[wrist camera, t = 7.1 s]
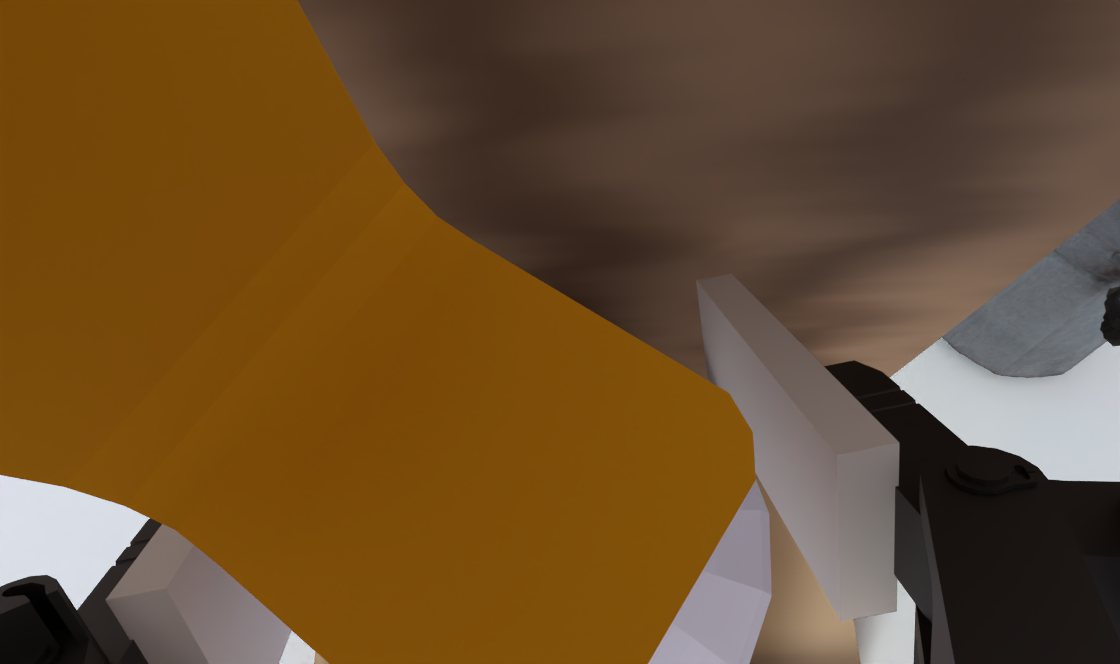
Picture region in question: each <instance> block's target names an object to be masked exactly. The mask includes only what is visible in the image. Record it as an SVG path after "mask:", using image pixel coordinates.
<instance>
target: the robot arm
mask: <svg viewBox="0 0 1120 664" xmlns="http://www.w3.org/2000/svg"><path fill="white" fill-rule="evenodd" d="M696 283H697V291H698V300H699V309H700V317H701V326H702V335H703V344H704V352H705V361H706V370H707V378H708V381H710V382H711V383H713V384H715V385H716V386H718V387H720V388H721V389H723V390H725V391H726V392H728V393H729V394H730V395H731V397H732V399H733V400H734V402H735V403H736V405H737V407H738V408H739V410H740V412H741V413H742V415H743V417H744V418H745V420H746V422H747V423H748V425H749V427H750V428H751V430H752V432H753V441H754V458H755V473H756V475H757V476H758V478H759V480H760V482H761V483H762V485H763V487H764V489H765V490H766V492H767V494H768V496H769V497H770V499H771V501H772V503H773V504H774V506H775V508H776V509H777V511H778V513H779V515H780V516H781V518H782V520H783V522H784V523H785V525H786V527H787V529H788V530H789V532H790V534H791V536H792V537H793V539H794V541H795V542H796V544H797V546H798V548H799V549H800V551H801V553H802V555H803V556H804V558H805V560H806V562H807V563H808V565H809V567H810V569H811V570H812V572H813V574H814V575H815V577H816V579H817V581H818V582H819V584H820V586H821V588H822V589H823V591H824V593H825V595H826V596H827V598H828V600H829V602H830V603H831V605H832V607H833V608H834V610H835V612H836V614H837V615H838V617H839V619H840V621H841V622H843V621H848V620H853V619H858V618H863V617H869V616H874V615H879V614H884V613H889V612H894V611H897V579H898V580H899V581H900V583H901V584H902V586H903V587H904V588H905V590H906V591H907V592H908V594H909V595H910V597H911V598H912V599H913V601H914V602H915V603H916V612H915V643H914V664H1120V482H1099V481H1060V480H1048V479H1047V478H1046V476H1045V475H1044V474H1043V473H1042V472H1041V470H1040V469H1039V468H1038V467H1036V466H1035V465H1033V464H1031V463H1030V462H1028V461H1027V460H1025V459H1023V458H1022V457H1020V456H1017V455H1014V454H1011V453H1008V452H1005V451H1002V450H999V449H995V448H987V447H980V446H968V445H967V444H965V443H964V442H963V441H962V440H961V439H960V438H958V437H957V436H956V435H955V434H954V433H953V432H952V431H950V430H949V429H948V428H947V427H946V426H945V425H943V424H942V423H941V422H940V421H939V420H938V419H936V418H935V417H934V416H933V415H932V414H931V413H929V412H928V411H927V410H926V409H925V408H924V407H923V406H921V405H920V404H916V402H915V400H914V399H913V398H912V397H911V396H910V395H909V394H907V393H906V392H905V391H904V390H902V391H901V390H900V387H899V386H898V385H897V384H896V383H895V382H894V381H892V380H891V379H890V378H889V377H888V376H887V375H885V374H884V373H883V372H882V371H880V370H877V369H875V368H872V367H870V366H867V365H865V364H862V363H860V362H857V361H855V360H853V361H848V362H843V363H838V364H833V365H828V366H823V365H822V364H821V363H820V362H819V361H818V360H817V359H816V358H815V357H814V356H813V355H812V354H811V353H810V352H809V351H808V350H807V349H806V348H805V347H804V346H803V345H802V344H801V343H800V342H799V341H798V340H797V339H796V338H795V337H794V336H793V335H792V334H791V333H790V332H789V331H788V330H787V329H786V328H785V327H784V326H783V325H782V324H781V323H780V322H779V321H778V320H777V319H776V318H775V317H774V316H773V315H772V314H771V313H770V312H769V311H768V310H767V309H766V308H765V307H764V306H763V305H762V304H761V303H760V302H759V301H758V300H757V299H756V298H755V296H754V295H753V294H752V293H751V292H750V291H749V290H748V289H747V288H746V287H745V286H744V285H743V284H742V283H741V282H740V281H739V280H738V279H737V278H736V277H735V276H734V275H733V274H732V273H731V274H727V275H722V276H717V277H712V278H707V279H702V280H697V281H696ZM130 544H131V546H130V547H127V548H126V549H125V550H124V551H123V553H122V554H121V555H120V556H119V558H118V559H117V560H116V566H112V567H111V568H110V569H109V570H108V572H107V573H106V574H105V576H104V577H103V578H102V579H101V581H100V582H99V583H98V584H97V586H96V587H95V588H94V590H93V591H92V592H91V593H90V595H89V596H88V597H87V598H86V600H85V601H84V602H83V604H82V605H81V606H80V607H79V609H78V610H76V609H75V607H74V606H73V604H72V603H71V601H70V599H69V598H68V596H67V595H66V593H65V592H64V590H63V589H62V587H61V586H60V584H59V583H58V581H57V580H56V579H54V578H52V577H50V576H48V575H41V576H30V577H26V578H23V579H20V580H17V581H14V582H11V583H8V584H6V585H3V586H1V587H0V664H279V661H280V659H281V656H282V653H283V651H284V648H285V646H286V643H287V640H288V638H289V635H290V633H291V629H290V628H289V627H288V626H286V625H285V624H284V623H283V622H282V621H281V620H280V619H279V618H277V617H276V616H275V615H274V614H273V613H272V612H271V611H270V610H269V609H267V608H266V607H265V606H264V605H263V604H262V603H261V602H260V601H258V600H257V599H256V598H255V597H254V596H253V595H252V594H251V593H249V592H248V591H247V590H246V589H245V588H244V587H243V586H242V585H240V584H239V583H238V582H237V581H236V580H235V579H234V578H233V577H231V576H230V575H229V574H228V573H227V572H226V571H225V570H224V569H222V568H221V567H220V566H219V565H218V564H217V563H216V562H214V561H213V560H212V559H211V558H209V557H208V556H207V555H206V554H204V553H203V552H202V551H201V550H199V549H198V548H197V547H196V546H194V545H193V544H192V543H191V542H189V541H188V540H187V539H186V538H184V537H183V536H182V535H181V534H179V533H178V532H177V531H176V530H174V529H172V528H170V527H168V526H166V525H164V524H162V523H159V522H157V521H155V520H153V519H151V518H150V519H149V520H148V521H147V522H146V523H145V525H144V526H143V527H142V528H141V530H140V531H139V532H138V534H137V535H136V536H135V537H134V539H133V540H132V541H131V542H130Z"/></svg>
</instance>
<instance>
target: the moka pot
mask: <svg viewBox="0 0 1120 664" xmlns="http://www.w3.org/2000/svg"><path fill="white" fill-rule="evenodd" d="M942 337H943V338H944V339H945V340H946V341H947V342H948V343H949V344H950V345H951V346H952V347H953V348H954V349H955V350H956V351H958V352H959V353H961V354H963V355H964V356H966V357H968V358H969V359H971V360H972V361H974V362H975V363H977V364H979V365H981V366H983V367H984V368H986V369H988V370H990V371H991V372H993V373H994V374H997V375H1001V376H1011V377H1026V378H1029V377H1045V376H1054V375H1061V374H1064V373H1065V372H1067V371H1068V370H1070V369H1071V368H1072V367H1074V366H1075V365H1076V364H1078V363H1079V362H1080V361H1081V360H1083V359H1084V358H1085V357H1087V356H1088V355H1089V354H1091V353H1092V352H1093V351H1095V350H1096V349H1097V348H1099V347H1100V346H1101V345H1103V344H1104V343H1105V342H1107V341H1108V342H1109V343H1110V344H1112V345H1113V346H1120V199H1119V200H1118V201H1117V202H1115V203H1114V204H1113V205H1112V206H1110V207H1109V208H1108V209H1106V210H1105V211H1104V212H1102V213H1101V214H1100V215H1099V216H1097V217H1096V218H1095V219H1093V220H1092V221H1091V222H1090V223H1088V224H1087V225H1086V226H1084V227H1083V228H1082V229H1081V230H1079V231H1078V232H1077V233H1075V234H1074V235H1073V236H1071V237H1070V238H1069V239H1068V240H1066V241H1065V242H1064V243H1062V244H1061V245H1060V246H1059V247H1057V248H1056V249H1055V250H1053V251H1052V252H1051V253H1050V254H1048V255H1047V256H1046V257H1044V258H1043V259H1042V260H1040V261H1039V262H1038V263H1037V264H1035V265H1034V266H1033V267H1031V268H1030V269H1029V270H1028V271H1026V272H1025V273H1024V274H1022V275H1021V276H1020V277H1019V278H1017V279H1016V280H1015V281H1013V282H1012V283H1011V284H1009V285H1008V286H1007V287H1006V288H1004V289H1003V290H1002V291H1000V292H999V293H998V294H997V295H995V296H994V297H993V298H991V299H990V300H989V301H988V302H986V303H985V304H984V305H982V306H981V307H980V308H979V309H977V310H976V311H975V312H973V313H972V314H971V315H969V316H968V317H967V318H966V319H964V320H963V321H962V322H960V323H959V324H958V325H957V326H955V327H954V328H953V329H951V330H950V331H949V332H948V333H946V334H945V335H944V336H942Z"/></svg>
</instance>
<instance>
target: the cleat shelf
mask: <svg viewBox="0 0 1120 664" xmlns="http://www.w3.org/2000/svg"><path fill="white" fill-rule="evenodd" d="M298 2H299V4H300V6H301V8H302V9H303V11H304V13H305V15H306V17H307V19H308V20H309V22H310V24H311V26H312V28H313V30H314V31H315V33H316V35H317V37H318V39H319V41H320V42H321V44H322V46H323V48H324V50H325V52H326V53H327V55H328V57H329V59H330V61H331V63H332V64H333V66H334V68H335V70H336V72H337V74H338V75H339V77H340V79H341V81H342V83H343V85H344V86H345V88H346V90H347V92H348V94H349V95H350V97H351V99H352V101H353V103H354V105H355V106H356V108H357V110H358V112H359V114H360V116H361V117H362V119H363V121H364V123H365V125H366V127H367V128H368V130H369V132H370V134H371V136H372V138H373V139H374V141H375V143H376V144H377V146H378V147H379V148H380V150H381V151H382V153H383V154H384V155H385V157H386V158H387V159H388V161H389V162H390V164H391V165H392V166H393V168H394V169H395V170H396V172H397V173H398V175H399V176H400V177H401V179H402V180H403V181H404V183H405V184H406V185H407V186H408V187H409V188H410V189H411V190H412V191H413V192H414V193H415V194H416V195H417V196H418V197H419V198H420V199H421V200H422V201H423V202H424V203H425V204H426V205H427V206H428V207H429V208H430V209H431V210H432V211H433V213H434V214H435V215H436V216H437V217H439V218H440V219H442V220H443V221H445V222H447V223H448V224H450V225H451V226H453V227H454V228H456V229H457V230H459V231H460V232H462V233H463V234H465V235H466V236H468V237H469V238H471V239H472V240H474V241H475V242H477V243H479V244H480V245H482V246H484V247H485V248H487V249H489V250H490V251H492V252H494V253H495V254H497V255H499V256H500V257H502V258H504V259H505V260H507V261H509V262H510V263H512V264H514V265H515V266H517V267H519V268H520V269H522V270H524V271H525V272H527V273H529V274H531V275H532V276H534V277H536V278H537V279H539V280H541V281H542V282H544V283H546V284H547V285H549V286H551V287H552V288H554V289H556V290H557V291H559V292H561V293H562V294H564V295H566V296H567V297H569V298H571V299H572V300H574V301H576V302H577V303H579V304H581V305H582V306H584V307H586V308H587V309H589V310H591V311H592V312H594V313H596V314H598V315H599V316H601V317H603V318H604V319H606V320H608V321H609V322H611V323H613V324H614V325H616V326H618V327H619V328H621V329H623V330H624V331H626V332H628V333H629V334H631V335H633V336H634V337H636V338H638V339H639V340H641V341H643V342H644V343H646V344H648V345H649V346H651V347H653V348H654V349H656V350H658V351H659V352H661V353H663V354H664V355H666V356H668V357H670V358H671V359H673V360H675V361H676V362H678V363H680V364H681V365H683V366H685V367H686V368H688V369H690V370H691V371H693V372H695V373H696V374H698V375H700V376H701V377H703V378H705V379H706V380H708V378H707V370H706V361H705V352H704V344H703V335H702V326H701V317H700V309H699V300H698V291H697V283H696V281H697V280H702V279H707V278H712V277H717V276H722V275H727V274H731V273H732V274H733V275H734V276H735V277H736V278H737V279H738V280H739V281H740V282H741V283H742V284H743V285H744V286H745V287H746V288H747V289H748V290H749V291H750V292H751V293H752V294H753V295H754V296H755V298H756V299H757V300H758V301H759V302H760V303H761V304H762V305H763V306H764V307H765V308H766V309H767V310H768V311H769V312H770V313H771V314H772V315H773V316H774V317H775V318H776V319H777V320H778V321H779V322H780V323H781V324H782V325H783V326H784V327H785V328H786V329H787V330H788V331H789V332H790V333H791V334H792V335H793V336H794V337H795V338H796V339H797V340H798V341H799V342H800V343H801V344H802V345H803V346H804V347H805V348H806V349H807V350H808V351H809V352H810V353H811V354H812V355H813V356H814V357H815V358H816V359H817V360H818V361H819V362H820V363H821V364H822V365H823V366H828V365H833V364H838V363H843V362H848V361H853V360H855V361H857V362H860V363H862V364H865V365H867V366H870V367H872V368H875V369H877V370H880V371H882V372H883V373H884V374H885V375H887V376H888V377H891V376H892V375H893V374H895V373H896V372H897V371H898V370H900V369H901V368H902V367H904V366H905V365H906V364H907V363H909V362H910V361H911V360H913V359H914V358H915V357H917V356H918V355H919V354H920V353H922V352H923V351H924V350H926V349H927V348H928V347H929V346H931V345H932V344H933V343H935V342H936V341H937V340H938V339H940V338H941V337H942V336H944V335H945V334H946V333H948V332H949V331H950V330H951V329H953V328H954V327H955V326H957V325H958V324H959V323H960V322H962V321H963V320H964V319H966V318H967V317H968V316H969V315H971V314H972V313H973V312H975V311H976V310H977V309H979V308H980V307H981V306H982V305H984V304H985V303H986V302H988V301H989V300H990V299H991V298H993V297H994V296H995V295H997V294H998V293H999V292H1000V291H1002V290H1003V289H1004V288H1006V287H1007V286H1008V285H1009V284H1011V283H1012V282H1013V281H1015V280H1016V279H1017V278H1019V277H1020V276H1021V275H1022V274H1024V273H1025V272H1026V271H1028V270H1029V269H1030V268H1031V267H1033V266H1034V265H1035V264H1037V263H1038V262H1039V261H1040V260H1042V259H1043V258H1044V257H1046V256H1047V255H1048V254H1050V253H1051V252H1052V251H1053V250H1055V249H1056V248H1057V247H1059V246H1060V245H1061V244H1062V243H1064V242H1065V241H1066V240H1068V239H1069V238H1070V237H1071V236H1073V235H1074V234H1075V233H1077V232H1078V231H1079V230H1081V229H1082V228H1083V227H1084V226H1086V225H1087V224H1088V223H1090V222H1091V221H1092V220H1093V219H1095V218H1096V217H1097V216H1099V215H1100V214H1101V213H1102V212H1104V211H1105V210H1106V209H1108V208H1109V207H1110V206H1112V205H1113V204H1114V203H1115V202H1117V201H1118V200H1119V199H1120V0H298ZM755 475H756V473H755ZM756 481H757V483H758V486H759V488H760V491H761V494H762V496H763V499H764V501H765V504H766V507H767V509H768V512H769V523H770V556H771V589H772V596H771V599H770V603H769V606H768V609H767V612H766V615H765V618H764V621H763V624H762V627H761V630H760V633H759V636H758V639H757V642H756V645H755V648H754V651H753V654H752V657H751V660H750V663H749V664H860V659H859V652H858V646H857V639H856V633H855V626H854V620H848V621H843V622H841V621H840V619H839V617H838V615H837V614H836V612H835V610H834V608H833V607H832V605H831V603H830V602H829V600H828V598H827V596H826V595H825V593H824V591H823V589H822V588H821V586H820V584H819V582H818V581H817V579H816V577H815V575H814V574H813V572H812V570H811V569H810V567H809V565H808V563H807V562H806V560H805V558H804V556H803V555H802V553H801V551H800V549H799V548H798V546H797V544H796V542H795V541H794V539H793V537H792V536H791V534H790V532H789V530H788V529H787V527H786V525H785V523H784V522H783V520H782V518H781V516H780V515H779V513H778V511H777V509H776V508H775V506H774V504H773V503H772V501H771V499H770V497H769V496H768V494H767V492H766V490H765V489H764V487H763V485H762V483H761V482H760V480H759V478H758V476H757V475H756ZM314 664H329V663H328V662H327V661H326V660H325V659H324V658H322V657H321V656H320V655H319V654H318V653H317V652H316V654H315V662H314Z"/></svg>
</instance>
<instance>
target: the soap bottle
mask: <svg viewBox="0 0 1120 664" xmlns="http://www.w3.org/2000/svg"><path fill="white" fill-rule="evenodd" d="M0 475H4V476H9V477H15V478H20V479H25V480H31V481H36V482H42V483H47V484H52V485H58V486H63V487H67V488H70V489H73V490H76V491H79V492H83V493H86V494H89V495H92V496H95V497H98V498H102V499H105V500H108V501H111V502H114V503H118V504H121V505H124V506H126V507H128V508H130V509H132V510H135V511H137V512H139V513H141V514H143V515H145V516H147V517H149V518H151V519H153V520H155V521H157V522H159V523H162V524H164V525H166V526H168V527H170V528H172V529H174V530H176V531H177V532H178V533H179V534H181V535H182V536H183V537H184V538H186V539H187V540H188V541H189V542H191V543H192V544H193V545H194V546H196V547H197V548H198V549H199V550H201V551H202V552H203V553H204V554H206V555H207V556H208V557H209V558H211V559H212V560H213V561H214V562H216V563H217V564H218V565H219V566H220V567H221V568H222V569H224V570H225V571H226V572H227V573H228V574H229V575H230V576H231V577H233V578H234V579H235V580H236V581H237V582H238V583H239V584H240V585H242V586H243V587H244V588H245V589H246V590H247V591H248V592H249V593H251V594H252V595H253V596H254V597H255V598H256V599H257V600H258V601H260V602H261V603H262V604H263V605H264V606H265V607H266V608H267V609H269V610H270V611H271V612H272V613H273V614H274V615H275V616H276V617H277V618H279V619H280V620H281V621H282V622H283V623H284V624H285V625H286V626H288V627H289V628H290V629H291V630H292V631H293V632H294V633H295V634H297V635H298V636H299V637H300V638H301V639H302V640H303V641H304V642H306V643H307V644H308V645H309V646H310V647H311V648H312V649H313V650H315V651H316V652H317V653H318V654H319V655H320V656H321V657H322V658H324V659H325V660H326V661H327V662H328V663H329V664H749V663H750V660H751V657H752V654H753V651H754V648H755V645H756V642H757V639H758V636H759V633H760V630H761V627H762V624H763V621H764V618H765V615H766V612H767V609H768V606H769V603H770V599H771V596H772V589H771V556H770V523H769V512H768V509H767V507H766V504H765V501H764V499H763V496H762V494H761V491H760V488H759V486H758V483H757V481H756V475H755V458H754V441H753V432H752V430H751V428H750V427H749V425H748V423H747V422H746V420H745V418H744V417H743V415H742V413H741V412H740V410H739V408H738V407H737V405H736V403H735V402H734V400H733V399H732V397H731V395H730V394H729V393H728V392H726V391H725V390H723V389H721V388H720V387H718V386H716V385H715V384H713V383H711V382H710V381H708V380H706V379H705V378H703V377H701V376H700V375H698V374H696V373H695V372H693V371H691V370H690V369H688V368H686V367H685V366H683V365H681V364H680V363H678V362H676V361H675V360H673V359H671V358H670V357H668V356H666V355H664V354H663V353H661V352H659V351H658V350H656V349H654V348H653V347H651V346H649V345H648V344H646V343H644V342H643V341H641V340H639V339H638V338H636V337H634V336H633V335H631V334H629V333H628V332H626V331H624V330H623V329H621V328H619V327H618V326H616V325H614V324H613V323H611V322H609V321H608V320H606V319H604V318H603V317H601V316H599V315H598V314H596V313H594V312H592V311H591V310H589V309H587V308H586V307H584V306H582V305H581V304H579V303H577V302H576V301H574V300H572V299H571V298H569V297H567V296H566V295H564V294H562V293H561V292H559V291H557V290H556V289H554V288H552V287H551V286H549V285H547V284H546V283H544V282H542V281H541V280H539V279H537V278H536V277H534V276H532V275H531V274H529V273H527V272H525V271H524V270H522V269H520V268H519V267H517V266H515V265H514V264H512V263H510V262H509V261H507V260H505V259H504V258H502V257H500V256H499V255H497V254H495V253H494V252H492V251H490V250H489V249H487V248H485V247H484V246H482V245H480V244H479V243H477V242H475V241H474V240H472V239H471V238H469V237H468V236H466V235H465V234H463V233H462V232H460V231H459V230H457V229H456V228H454V227H453V226H451V225H450V224H448V223H447V222H445V221H443V220H442V219H440V218H439V217H437V216H436V215H435V214H434V213H433V211H432V210H431V209H430V208H429V207H428V206H427V205H426V204H425V203H424V202H423V201H422V200H421V199H420V198H419V197H418V196H417V195H416V194H415V193H414V192H413V191H412V190H411V189H410V188H409V187H408V186H407V185H406V184H405V183H404V181H403V180H402V179H401V177H400V176H399V175H398V173H397V172H396V170H395V169H394V168H393V166H392V165H391V164H390V162H389V161H388V159H387V158H386V157H385V155H384V154H383V153H382V151H381V150H380V148H379V147H378V146H377V144H376V143H375V141H374V139H373V138H372V136H371V134H370V132H369V130H368V128H367V127H366V125H365V123H364V121H363V119H362V117H361V116H360V114H359V112H358V110H357V108H356V106H355V105H354V103H353V101H352V99H351V97H350V95H349V94H348V92H347V90H346V88H345V86H344V85H343V83H342V81H341V79H340V77H339V75H338V74H337V72H336V70H335V68H334V66H333V64H332V63H331V61H330V59H329V57H328V55H327V53H326V52H325V50H324V48H323V46H322V44H321V42H320V41H319V39H318V37H317V35H316V33H315V31H314V30H313V28H312V26H311V24H310V22H309V20H308V19H307V17H306V15H305V13H304V11H303V9H302V8H301V6H300V4H299V2H298V0H0Z"/></svg>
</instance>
